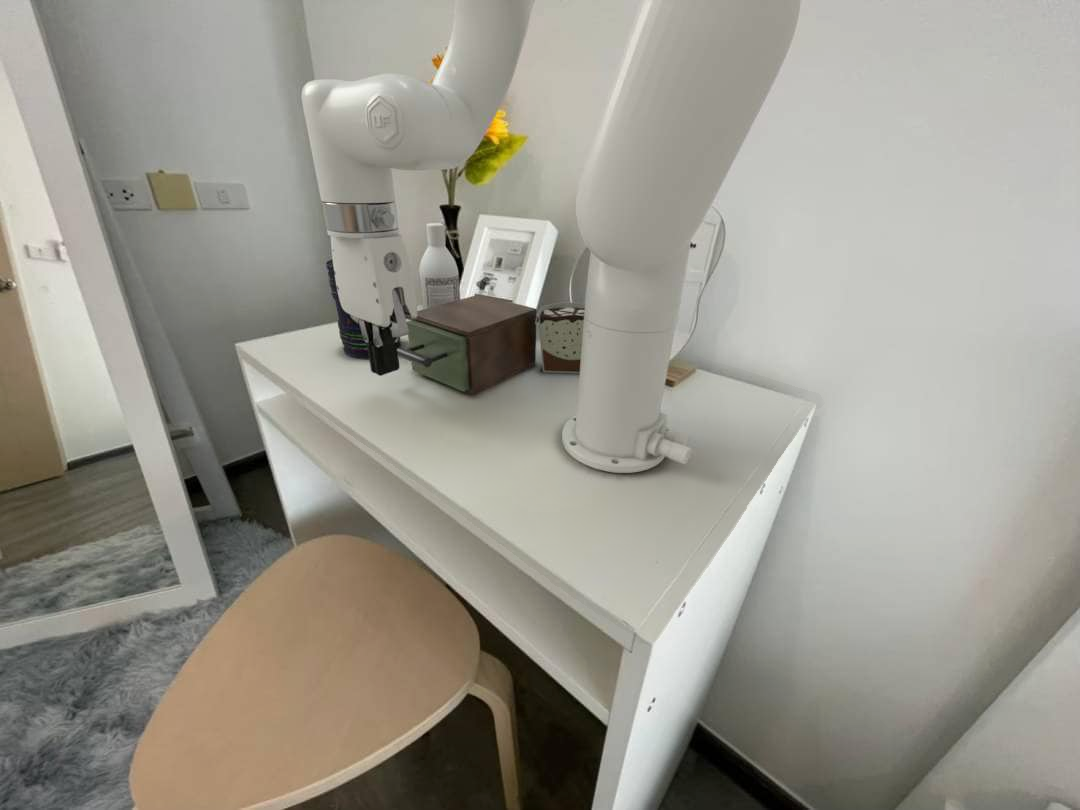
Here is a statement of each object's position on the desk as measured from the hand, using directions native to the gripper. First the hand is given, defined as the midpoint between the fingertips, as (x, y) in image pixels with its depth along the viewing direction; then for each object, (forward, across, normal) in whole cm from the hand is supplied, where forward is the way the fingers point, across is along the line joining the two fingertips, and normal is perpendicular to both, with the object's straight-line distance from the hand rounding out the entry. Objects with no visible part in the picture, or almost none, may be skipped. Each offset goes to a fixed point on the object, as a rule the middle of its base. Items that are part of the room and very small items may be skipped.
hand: (385, 370), depth 57 cm
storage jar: (+5, +20, -10) cm, 23 cm away
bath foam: (+5, +16, -23) cm, 29 cm away
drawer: (+4, 0, -13) cm, 13 cm away
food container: (+5, -11, -28) cm, 30 cm away
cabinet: (+5, 0, -17) cm, 17 cm away
